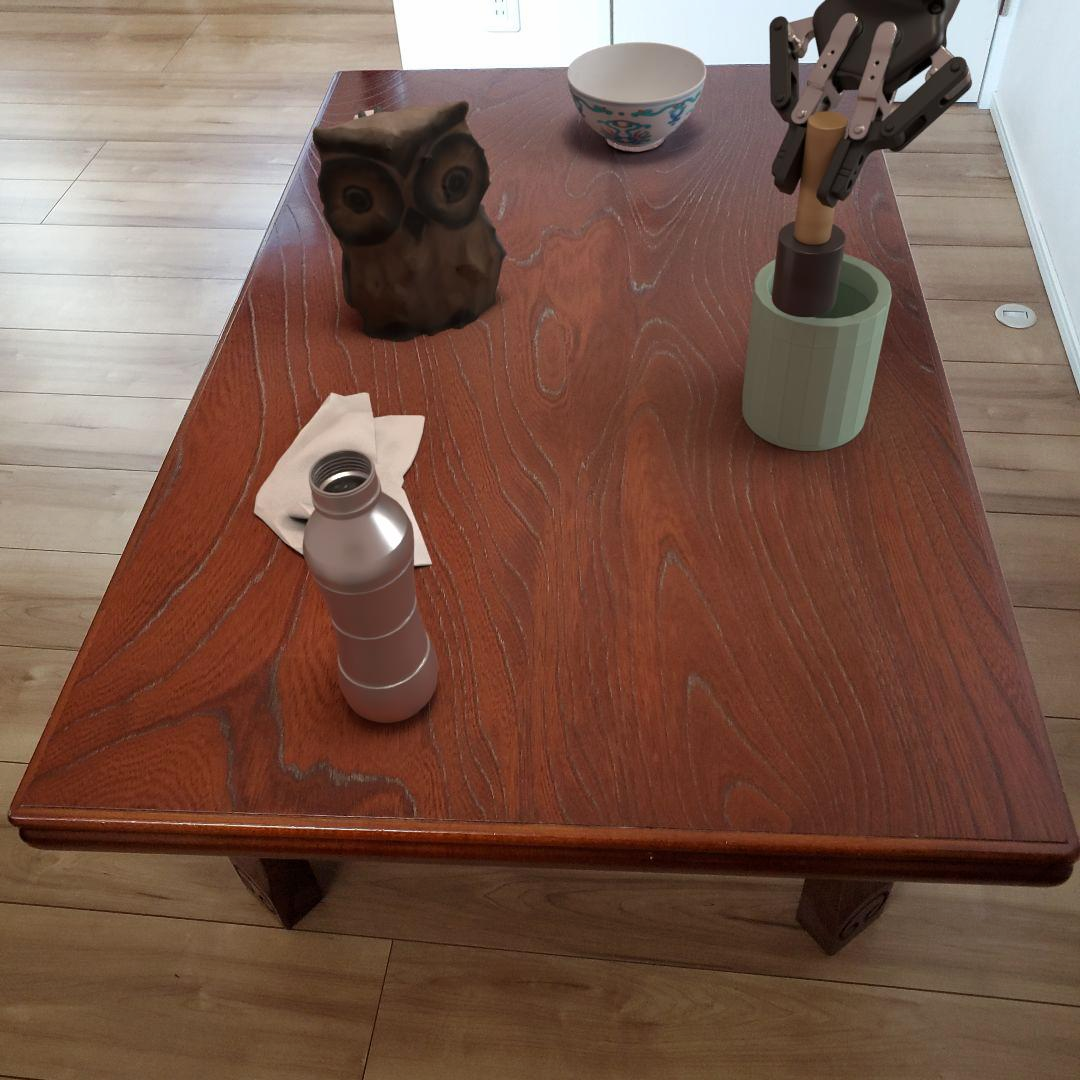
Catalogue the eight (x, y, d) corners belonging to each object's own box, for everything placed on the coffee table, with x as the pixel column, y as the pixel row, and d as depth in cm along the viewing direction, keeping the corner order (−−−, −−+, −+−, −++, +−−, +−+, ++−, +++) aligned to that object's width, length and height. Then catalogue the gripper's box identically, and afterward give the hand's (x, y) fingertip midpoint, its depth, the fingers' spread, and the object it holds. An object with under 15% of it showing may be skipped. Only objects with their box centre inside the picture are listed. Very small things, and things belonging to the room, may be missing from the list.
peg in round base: (808, 275, 80) (832, 97, 71) (849, 304, 77) (880, 123, 68) (758, 295, 79) (776, 116, 69) (798, 325, 76) (823, 143, 67)
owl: (515, 299, 106) (498, 91, 91) (433, 370, 99) (402, 157, 84) (410, 263, 111) (379, 61, 96) (325, 328, 104) (278, 121, 89)
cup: (811, 360, 97) (830, 237, 88) (891, 422, 91) (920, 296, 82) (717, 400, 94) (727, 277, 85) (794, 467, 88) (813, 342, 79)
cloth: (271, 401, 97) (265, 380, 95) (430, 388, 97) (427, 367, 95) (237, 635, 79) (229, 614, 77) (432, 617, 79) (428, 596, 77)
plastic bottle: (330, 727, 73) (260, 507, 58) (366, 646, 77) (308, 424, 63) (424, 744, 71) (376, 523, 57) (455, 661, 76) (417, 438, 62)
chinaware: (542, 149, 126) (539, 81, 120) (618, 97, 134) (618, 31, 128) (654, 184, 119) (656, 114, 113) (727, 128, 127) (732, 60, 121)
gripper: (807, -126, 68) (688, 145, 70) (1032, -91, 62) (894, 206, 64) (837, -59, 75) (727, 187, 77) (1043, -21, 68) (917, 247, 71)
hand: (804, 195), depth 71 cm, fingers closed on peg in round base, 2 cm apart
